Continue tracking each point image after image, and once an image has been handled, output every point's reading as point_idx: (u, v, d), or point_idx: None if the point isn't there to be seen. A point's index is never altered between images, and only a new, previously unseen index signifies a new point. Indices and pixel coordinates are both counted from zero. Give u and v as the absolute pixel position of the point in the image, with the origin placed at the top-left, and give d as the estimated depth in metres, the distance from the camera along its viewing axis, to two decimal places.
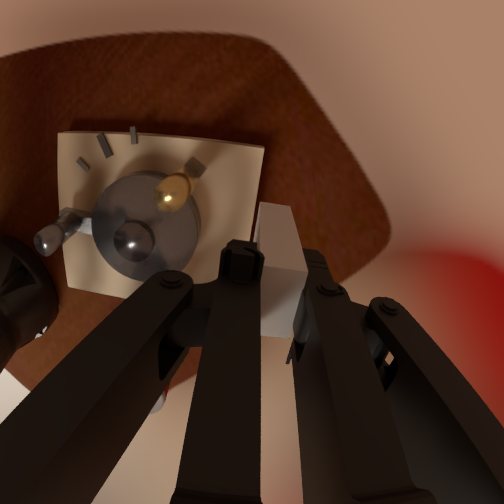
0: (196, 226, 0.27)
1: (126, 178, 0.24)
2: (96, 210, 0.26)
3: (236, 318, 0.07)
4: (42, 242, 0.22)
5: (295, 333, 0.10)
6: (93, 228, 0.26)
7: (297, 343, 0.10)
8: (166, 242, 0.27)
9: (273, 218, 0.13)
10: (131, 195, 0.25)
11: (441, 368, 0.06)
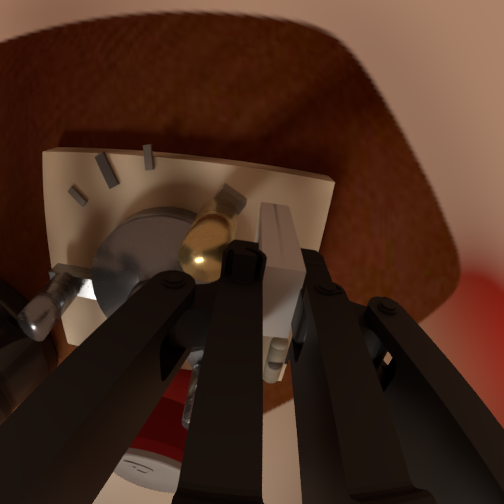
0: None
1: (131, 224, 0.17)
2: (96, 269, 0.19)
3: (238, 318, 0.07)
4: (29, 324, 0.15)
5: (293, 333, 0.10)
6: (96, 292, 0.19)
7: (296, 342, 0.10)
8: None
9: (275, 218, 0.13)
10: (142, 246, 0.18)
11: (440, 368, 0.06)
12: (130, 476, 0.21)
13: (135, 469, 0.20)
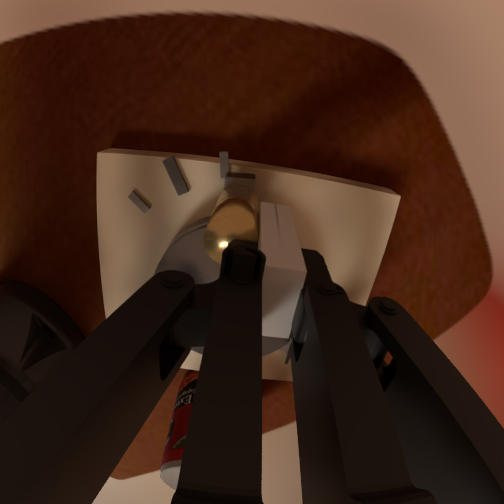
0: None
1: (167, 253, 0.18)
2: None
3: (237, 318, 0.07)
4: None
5: (294, 333, 0.10)
6: None
7: (296, 342, 0.10)
8: None
9: (274, 218, 0.13)
10: (187, 268, 0.19)
11: (440, 368, 0.06)
12: None
13: None
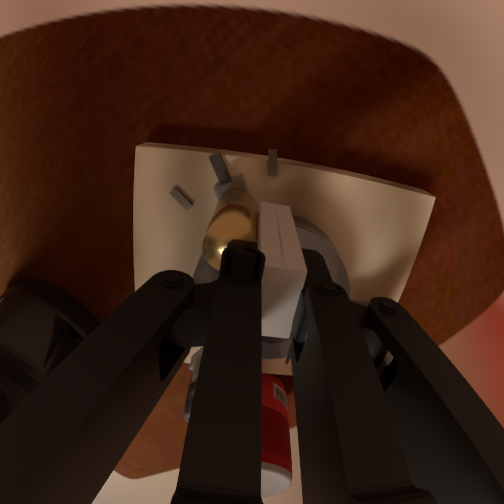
0: (307, 231, 0.18)
1: (193, 278, 0.19)
2: None
3: (237, 318, 0.07)
4: None
5: (294, 333, 0.10)
6: None
7: (297, 342, 0.10)
8: None
9: (274, 218, 0.13)
10: None
11: (441, 368, 0.06)
12: None
13: None
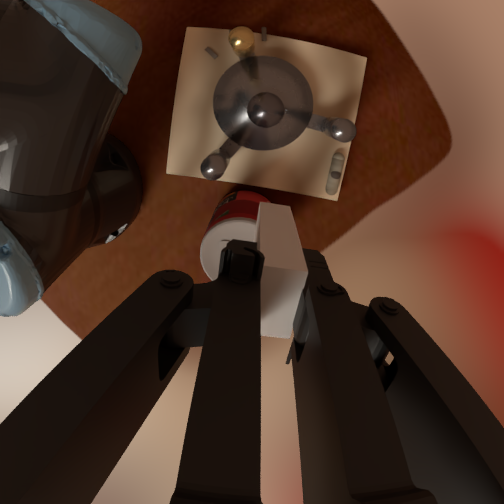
0: None
1: (216, 87, 0.28)
2: (224, 127, 0.30)
3: (236, 318, 0.07)
4: (210, 168, 0.27)
5: (295, 333, 0.10)
6: (236, 140, 0.31)
7: (297, 343, 0.10)
8: (282, 88, 0.28)
9: (273, 218, 0.13)
10: (230, 90, 0.29)
11: (441, 368, 0.06)
12: (217, 272, 0.30)
13: None
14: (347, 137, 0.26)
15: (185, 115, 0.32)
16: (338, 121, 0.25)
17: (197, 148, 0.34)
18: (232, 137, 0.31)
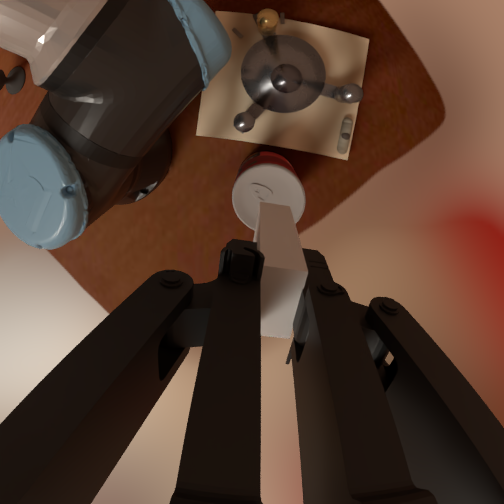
0: (300, 39, 0.31)
1: (244, 59, 0.32)
2: (250, 93, 0.34)
3: (236, 318, 0.07)
4: (242, 121, 0.31)
5: (295, 333, 0.10)
6: (260, 104, 0.34)
7: (297, 343, 0.10)
8: (299, 61, 0.32)
9: (273, 218, 0.13)
10: (256, 62, 0.32)
11: (441, 368, 0.06)
12: (247, 213, 0.34)
13: (257, 196, 0.33)
14: (356, 98, 0.30)
15: (214, 84, 0.36)
16: (348, 85, 0.29)
17: (225, 113, 0.38)
18: (257, 101, 0.34)
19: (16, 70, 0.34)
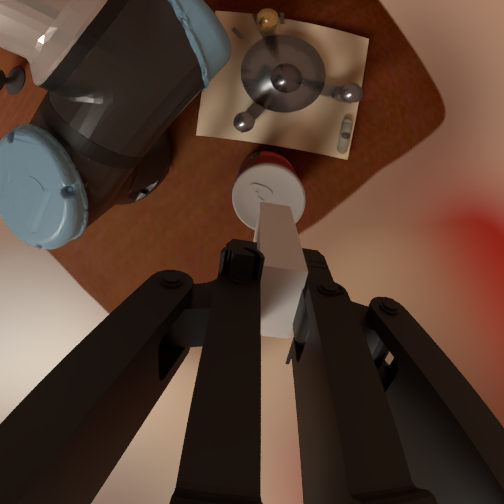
0: None
1: (243, 59, 0.32)
2: (250, 93, 0.34)
3: (236, 318, 0.07)
4: (242, 121, 0.31)
5: (295, 333, 0.10)
6: (260, 103, 0.34)
7: (297, 343, 0.10)
8: (299, 61, 0.32)
9: (273, 218, 0.13)
10: (256, 62, 0.32)
11: (441, 368, 0.06)
12: (247, 213, 0.34)
13: (257, 195, 0.33)
14: (356, 98, 0.30)
15: (214, 84, 0.36)
16: (348, 85, 0.29)
17: (224, 113, 0.38)
18: (257, 101, 0.34)
19: (16, 71, 0.34)
